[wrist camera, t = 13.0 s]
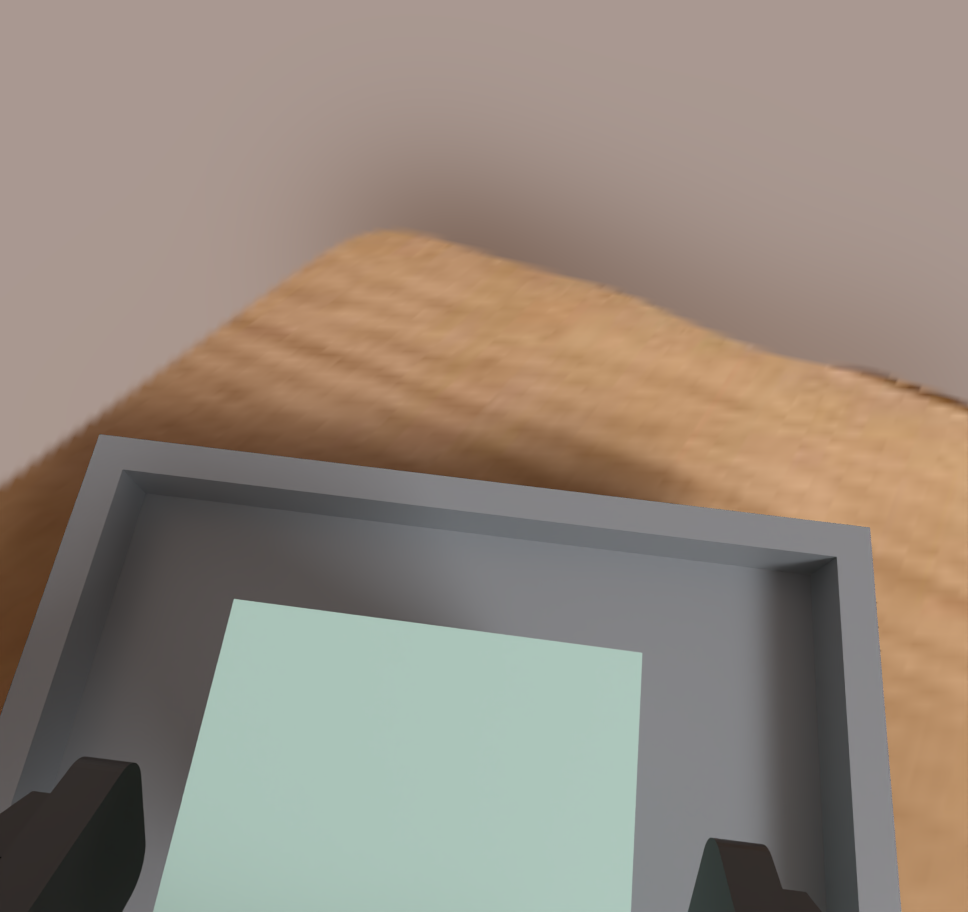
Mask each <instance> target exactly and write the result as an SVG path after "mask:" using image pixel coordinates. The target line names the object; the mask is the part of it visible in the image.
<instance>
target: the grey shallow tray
mask: <svg viewBox="0 0 968 912" xmlns="http://www.w3.org/2000/svg"><path fill="white" fill-rule="evenodd" d="M234 599H239V600H246V601H254V602H261V603H269V604H276V605H284V606H292V607H299V608H307V609H314V610H322V611H330V612H337V613H345V614H352V615H360V616H367V617H375V618H383V619H390V620H398V621H405V622H413V623H421V624H428V625H436V626H443V627H451V628H458V629H466V630H474V631H481V632H489V633H496V634H504V635H512V636H519V637H527V638H534V639H542V640H549V641H557V642H565V643H572V644H580V645H587V646H595V647H602V648H610V649H618V650H625V651H633V652H640V653H642V674H641V696H640V719H639V741H638V764H637V786H636V808H635V831H634V853H633V876H632V898H631V912H688V909H689V905H690V901H691V897H692V894H693V890H694V886H695V882H696V878H697V874H698V870H699V867H700V863H701V859H702V855H703V851H704V847H705V844H706V842H707V840H708V839H709V838H718V839H726V840H734V841H742V842H750V843H758V844H764V845H766V846H767V848H768V849H769V851H770V853H771V856H772V858H773V861H774V864H775V867H776V870H777V873H778V876H779V879H780V883H781V886H782V889H787V890H795V891H803V892H807V894H808V895H809V896H810V898H811V899H812V900H813V901H814V903H815V904H816V905H817V907H818V908H819V909H820V910H821V912H901V902H900V890H899V878H898V865H897V853H896V841H895V829H894V816H893V804H892V792H891V780H890V767H889V755H888V743H887V731H886V718H885V706H884V694H883V682H882V669H881V657H880V645H879V633H878V620H877V608H876V596H875V584H874V572H873V559H872V547H871V535H870V528H869V527H861V526H853V525H845V524H836V523H828V522H820V521H812V520H803V519H795V518H787V517H778V516H770V515H762V514H754V513H745V512H737V511H729V510H721V509H712V508H704V507H696V506H688V505H679V504H671V503H663V502H655V501H646V500H638V499H630V498H622V497H613V496H605V495H597V494H589V493H580V492H572V491H564V490H556V489H547V488H539V487H531V486H523V485H514V484H506V483H498V482H490V481H481V480H473V479H465V478H457V477H448V476H440V475H432V474H424V473H415V472H407V471H399V470H391V469H382V468H374V467H366V466H358V465H349V464H341V463H333V462H325V461H316V460H308V459H300V458H292V457H283V456H275V455H267V454H259V453H250V452H242V451H234V450H226V449H217V448H209V447H201V446H193V445H184V444H176V443H168V442H159V441H151V440H143V439H135V438H126V437H118V436H110V435H102V434H99V437H98V440H97V443H96V446H95V448H94V451H93V454H92V457H91V460H90V463H89V465H88V468H87V471H86V474H85V477H84V480H83V482H82V485H81V488H80V491H79V494H78V497H77V499H76V502H75V505H74V508H73V511H72V514H71V517H70V519H69V522H68V525H67V528H66V531H65V534H64V536H63V539H62V542H61V545H60V548H59V551H58V553H57V556H56V559H55V562H54V565H53V568H52V570H51V573H50V576H49V579H48V582H47V585H46V587H45V590H44V593H43V596H42V599H41V602H40V604H39V607H38V610H37V613H36V616H35V619H34V621H33V624H32V627H31V630H30V633H29V636H28V638H27V641H26V644H25V647H24V650H23V653H22V655H21V658H20V661H19V664H18V667H17V670H16V672H15V675H14V678H13V681H12V684H11V687H10V689H9V692H8V695H7V698H6V701H5V704H4V706H3V709H2V712H1V715H0V813H2V812H3V811H5V810H6V809H7V808H9V807H10V806H12V805H13V804H14V803H16V802H17V801H19V800H20V799H22V798H23V797H24V796H26V795H27V794H29V793H30V792H32V791H37V792H45V793H51V792H52V790H53V789H54V788H55V787H56V785H57V784H58V783H59V781H60V780H61V779H62V777H63V776H64V775H65V773H66V772H67V771H68V770H69V768H70V767H71V766H72V765H73V763H74V762H75V761H76V760H78V759H79V758H81V757H84V756H86V757H94V758H102V759H110V760H118V761H126V762H134V763H137V764H138V765H139V767H140V770H141V779H142V794H143V809H144V824H145V839H146V847H145V856H144V862H143V866H142V870H141V873H140V876H139V879H138V882H137V884H136V887H135V889H134V891H133V893H132V895H131V897H130V899H129V901H128V902H127V904H126V906H125V908H124V910H123V912H153V910H154V906H155V902H156V898H157V895H158V891H159V887H160V883H161V879H162V875H163V871H164V867H165V864H166V860H167V856H168V852H169V848H170V844H171V840H172V837H173V833H174V829H175V825H176V821H177V817H178V813H179V809H180V806H181V802H182V798H183V794H184V790H185V786H186V782H187V778H188V775H189V771H190V767H191V763H192V759H193V755H194V751H195V748H196V744H197V740H198V736H199V732H200V728H201V724H202V720H203V717H204V713H205V709H206V705H207V701H208V697H209V693H210V690H211V686H212V682H213V678H214V674H215V670H216V666H217V662H218V659H219V655H220V651H221V647H222V643H223V639H224V635H225V631H226V628H227V624H228V620H229V616H230V612H231V608H232V604H233V601H234Z"/></svg>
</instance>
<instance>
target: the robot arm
mask: <svg viewBox="0 0 968 912" xmlns="http://www.w3.org/2000/svg"><path fill="white" fill-rule="evenodd" d="M145 847H146V839H145V824H144V809H143V794H142V779H141V770H140V767H139V765H138V764H137V763H134V762H126V761H118V760H110V759H102V758H94V757H86V756H84V757H81V758H79V759H78V760H76V761H75V762H74V763H73V765H72V766H71V767H70V768H69V770H68V771H67V772H66V773H65V775H64V776H63V777H62V779H61V780H60V781H59V783H58V784H57V785H56V787H55V788H54V789H53V790H52V792H51V793H45V792H37V791H32V792H30V793H29V794H27V795H26V796H24V797H23V798H22V799H20V800H19V801H17V802H16V803H14V804H13V805H12V806H10V807H9V808H7V809H6V810H5V811H3V812H2V813H0V912H123V910H124V908H125V906H126V904H127V902H128V901H129V899H130V897H131V895H132V893H133V891H134V889H135V887H136V884H137V882H138V879H139V876H140V873H141V870H142V866H143V862H144V856H145ZM688 912H821V910H820V909H819V908H818V907H817V905H816V904H815V903H814V901H813V900H812V899H811V898H810V896H809V895H808V894H807V892H803V891H795V890H787V889H782V886H781V883H780V879H779V876H778V873H777V870H776V867H775V864H774V861H773V858H772V856H771V853H770V851H769V849H768V848H767V846H766V845H764V844H758V843H750V842H742V841H734V840H726V839H718V838H709V839H708V840H707V842H706V844H705V847H704V851H703V855H702V859H701V863H700V867H699V870H698V874H697V878H696V882H695V886H694V890H693V894H692V897H691V901H690V905H689V909H688Z"/></svg>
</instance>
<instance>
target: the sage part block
mask: <svg viewBox="0 0 968 912" xmlns="http://www.w3.org/2000/svg"><path fill="white" fill-rule="evenodd" d="M641 674H642V653H640V652H633V651H625V650H618V649H610V648H602V647H595V646H587V645H580V644H572V643H565V642H557V641H549V640H542V639H534V638H527V637H519V636H512V635H504V634H496V633H489V632H481V631H474V630H466V629H458V628H451V627H443V626H436V625H428V624H421V623H413V622H405V621H398V620H390V619H383V618H375V617H367V616H360V615H352V614H345V613H337V612H330V611H322V610H314V609H307V608H299V607H292V606H284V605H276V604H269V603H261V602H254V601H246V600H239V599H234V601H233V604H232V608H231V612H230V616H229V620H228V624H227V628H226V631H225V635H224V639H223V643H222V647H221V651H220V655H219V659H218V662H217V666H216V670H215V674H214V678H213V682H212V686H211V690H210V693H209V697H208V701H207V705H206V709H205V713H204V717H203V720H202V724H201V728H200V732H199V736H198V740H197V744H196V748H195V751H194V755H193V759H192V763H191V767H190V771H189V775H188V778H187V782H186V786H185V790H184V794H183V798H182V802H181V806H180V809H179V813H178V817H177V821H176V825H175V829H174V833H173V837H172V840H171V844H170V848H169V852H168V856H167V860H166V864H165V867H164V871H163V875H162V879H161V883H160V887H159V891H158V895H157V898H156V902H155V906H154V910H153V912H631V898H632V876H633V853H634V831H635V808H636V786H637V764H638V741H639V719H640V696H641Z"/></svg>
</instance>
